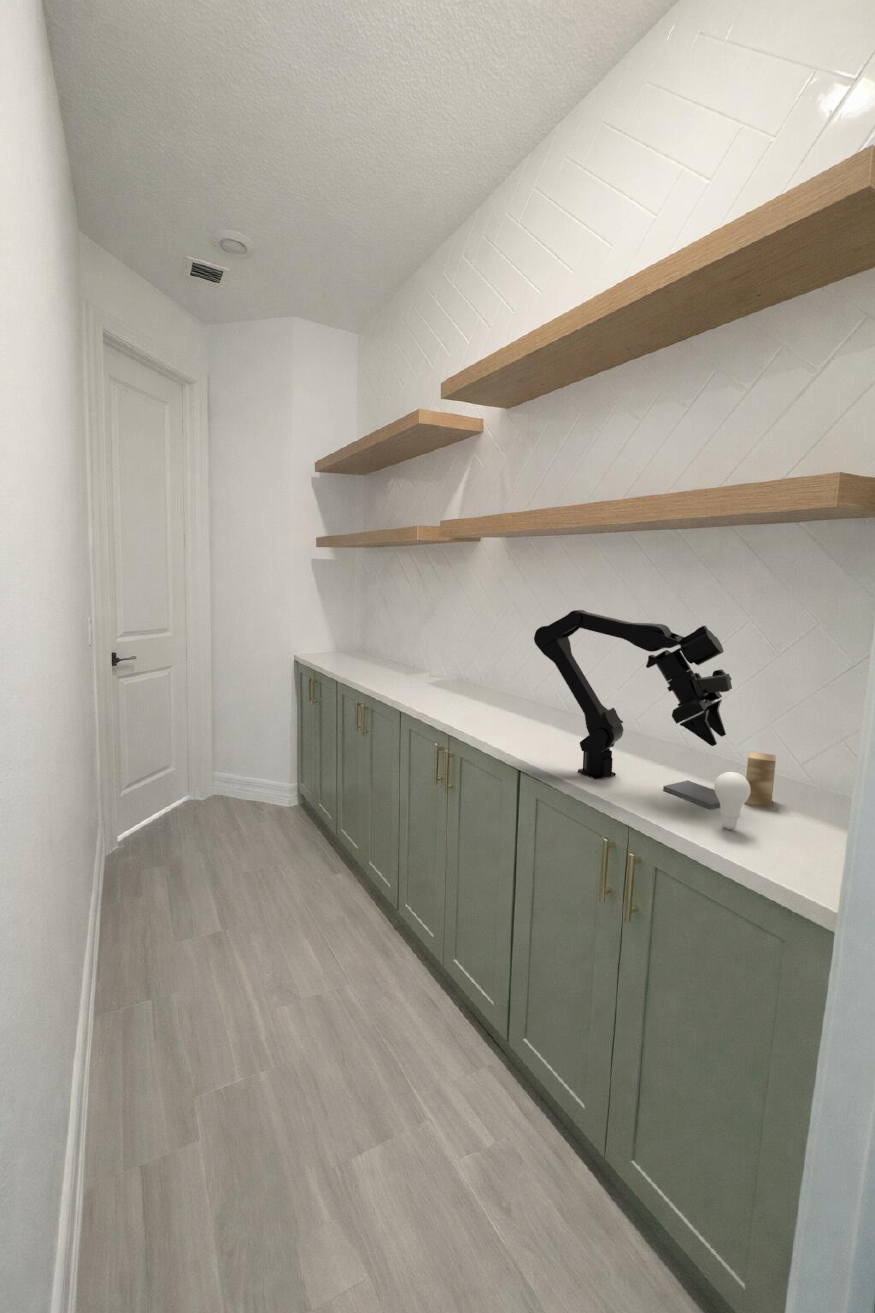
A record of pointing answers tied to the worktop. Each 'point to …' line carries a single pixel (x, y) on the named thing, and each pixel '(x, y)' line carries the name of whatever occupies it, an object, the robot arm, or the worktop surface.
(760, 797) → the oak block
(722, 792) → the lightbulb
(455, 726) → the worktop surface
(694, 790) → the charcoal mat
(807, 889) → the worktop surface
